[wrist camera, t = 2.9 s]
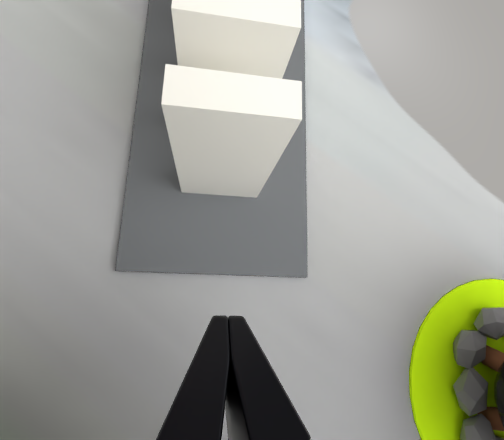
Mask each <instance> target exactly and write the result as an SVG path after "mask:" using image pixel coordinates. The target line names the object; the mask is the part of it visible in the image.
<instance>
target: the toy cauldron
mask: <svg viewBox="0 0 504 440" xmlns="http://www.w3.org/2000/svg"><path fill="white" fill-rule="evenodd" d="M409 389H410V400H411V405H412V411H413V416H414V421H415V424H416V427H417V429H418V432H419V435H420V438H421V440H504V280H497V279H484V280H475V281H471V282H469V283H466V284H463V285H460V286H458V287H456V288H455V289H453V290H452V291H450V292H449V293H447V294H446V295H444V296H443V297H442V298H441V299H440V300H439V301H438V302H437V303H436V304H435V305H434V306H433V307H432V308H431V310H430V311H429V313H428V314H427V316H426V318H425V319H424V321H423V323H422V324H421V326H420V328H419V331H418V334H417V337H416V340H415V343H414V345H413V349H412V355H411V362H410V369H409Z"/></svg>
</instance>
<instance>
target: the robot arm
mask: <svg viewBox="0 0 504 440" xmlns="http://www.w3.org/2000/svg"><path fill="white" fill-rule="evenodd" d="M224 410H226V420H227V431H228V440H310V438H311V437H310V435H309V433H308V431H307V429H306V428H305V426H304V424H303V422H302V420H301V419H300V417H299V415H298V413H297V411H296V410H295V408H294V406H293V404H292V402H291V401H290V399H289V397H288V395H287V394H286V392H285V390H284V388H283V386H282V385H281V383H280V381H279V379H278V377H277V376H276V374H275V372H274V370H273V368H272V367H271V365H270V363H269V361H268V360H267V358H266V356H265V354H264V352H263V351H262V349H261V347H260V345H259V343H258V342H257V340H256V338H255V336H254V334H253V333H252V331H251V329H250V327H249V325H248V324H247V322H246V320H245V319H244V317H242V316H229V317H227V316H213V317H212V319H211V321H210V323H209V325H208V327H207V330H206V332H205V334H204V336H203V338H202V340H201V343H200V345H199V347H198V349H197V351H196V354H195V356H194V358H193V360H192V362H191V364H190V367H189V369H188V371H187V373H186V375H185V377H184V380H183V382H182V384H181V386H180V388H179V390H178V393H177V395H176V397H175V399H174V401H173V404H172V406H171V408H170V410H169V412H168V414H167V417H166V419H165V421H164V423H163V425H162V427H161V430H160V432H159V434H158V436H157V438H156V440H221V437H222V428H223V419H224Z"/></svg>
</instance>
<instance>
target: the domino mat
mask: <svg viewBox="0 0 504 440" xmlns="http://www.w3.org/2000/svg"><path fill="white" fill-rule="evenodd" d="M171 5H172V0H149V6H148V14H147V22H146V30H145V38H144V46H143V54H142V62H141V70H140V78H139V86H138V94H137V102H136V110H135V118H134V126H133V134H132V142H131V150H130V158H129V166H128V174H127V182H126V190H125V198H124V206H123V214H122V222H121V230H120V238H119V246H118V254H117V262H116V270H115V271H133V272H161V273H190V274H218V275H246V276H275V277H303V278H306V277H307V205H306V122H305V39H304V0H301V30H300V32H299V35H298V38H297V40H296V43H295V46H294V49H293V51H292V54H291V57H290V59H289V62H288V65H287V67H286V70H285V73H284V75H283V78H282V79H288V80H296V81H302V121H301V122H300V124H299V126H298V128H297V129H296V131H295V133H294V134H293V136H292V138H291V140H290V141H289V143H288V145H287V147H286V148H285V150H284V152H283V153H282V155H281V157H280V159H279V160H278V162H277V164H276V165H275V167H274V169H273V171H272V172H271V174H270V176H269V178H268V179H267V181H266V183H265V184H264V186H263V188H262V190H261V191H260V193H259V195H258V197H257V198H253V197H239V196H225V195H211V194H197V193H183V192H181V188H180V183H179V179H178V175H177V170H176V166H175V162H174V157H173V153H172V149H171V144H170V140H169V135H168V131H167V127H166V122H165V118H164V114H163V109H162V105H161V102H162V92H163V83H164V73H165V64H171V65H178V62H177V54H176V45H175V37H174V28H173V19H172V11H171Z"/></svg>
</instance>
